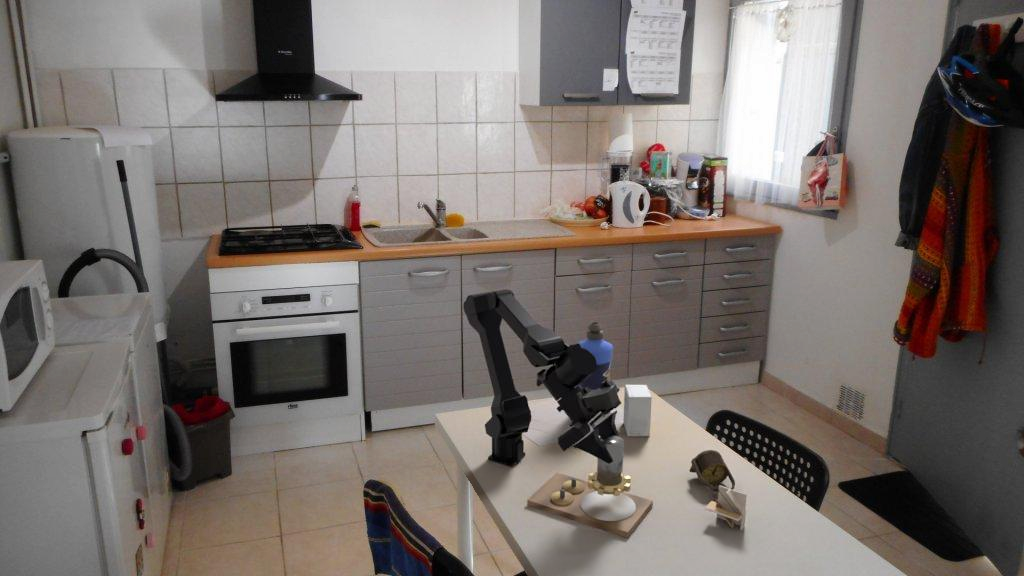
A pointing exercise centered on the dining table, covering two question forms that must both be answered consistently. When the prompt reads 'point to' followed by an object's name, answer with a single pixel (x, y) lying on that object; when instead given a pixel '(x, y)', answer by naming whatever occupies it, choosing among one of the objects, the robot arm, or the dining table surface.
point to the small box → (637, 410)
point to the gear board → (590, 505)
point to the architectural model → (729, 506)
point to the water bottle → (597, 356)
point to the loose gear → (610, 469)
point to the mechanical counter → (711, 470)
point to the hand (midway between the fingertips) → (616, 456)
